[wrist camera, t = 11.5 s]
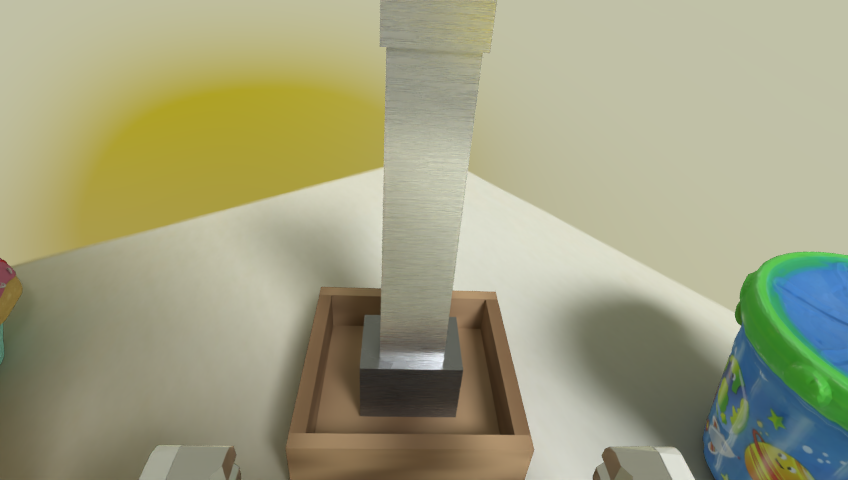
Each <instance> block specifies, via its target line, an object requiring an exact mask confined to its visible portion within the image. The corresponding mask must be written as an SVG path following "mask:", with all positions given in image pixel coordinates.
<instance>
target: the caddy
mask: <svg viewBox="0 0 848 480" xmlns="http://www.w3.org/2000/svg"><path fill="white" fill-rule="evenodd" d="M365 315H381V289H376V288H341V287H321V290H320V295H319V299H318V304H317V308H316V313H315V317H314V322H313V326H312V331H311V335H310V340H309V344H308V349H307V353H306V358H305V362H304V367H303V371H302V376H301V380H300V384H299V389H298V393H297V398H296V402H295V407H294V411H293V416H292V420H291V425H290V429H289V434H288V438H287V443H286V447H285V449H286V456H287V462H288V468H289V475H290V480H525V477H526V474H527V470H528V467H529V464H530V461H531V458H532V455H533V452H534V447H533V443H532V439H531V435H530V431H529V427H528V423H527V418H526V414H525V410H524V406H523V402H522V398H521V394H520V390H519V386H518V382H517V378H516V374H515V370H514V365H513V361H512V357H511V353H510V349H509V345H508V341H507V337H506V333H505V329H504V325H503V321H502V316H501V312H500V308H499V304H498V300H497V296H496V292H481V291H452V298H451V306H450V314H449V317H456V319H457V326H458V334H459V341H460V349H461V356H462V364H463V376H462V382H461V388H460V394H459V400H458V406H457V412H456V417H364V416H360V358H361V348H362V338H363V327H364V317H365Z"/></svg>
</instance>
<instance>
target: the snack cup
mask: <svg viewBox="0 0 848 480" xmlns="http://www.w3.org/2000/svg"><path fill="white" fill-rule="evenodd" d="M735 318H736V321H737V323H738V324H740V325H741V328H740V331H739V332H738V334H737V336H736V338H735V340H734V344H733V347H732V351H731V354H730V356H729V358H728V361H727V364H726V367H725V370H724V373H723V376H722V378H721V381H720V384H719V386H718V389H717V392H716V395H715V398H714V401H713V405H712V407H711V410H710V413H709V415H708V418H707V422H706V425H705V429H704V434H703V441H704V451H703V452H704V455H705V460H706V462H707V464H708V466H709V468H710V470H711V472H712V474H713V476H714V478H715V479H716V480H848V255H841V254H834V253H824V252H795V253H788V254H784V255H780V256H776V257H774V258H772V259H770V260H768V261H766V262H765V263H763V265H762V266H761V267H760V268H759V269H758V270H757V271H755V272H754V273H751V274H748V276H747V278H746V280H745V281H744V283H743V286H742V288H741V292H740V302H739V303H738V305H737V307H736V311H735Z"/></svg>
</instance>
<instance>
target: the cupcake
mask: <svg viewBox="0 0 848 480" xmlns="http://www.w3.org/2000/svg"><path fill="white" fill-rule="evenodd" d="M21 294H22V284H21V282H20V281H19V279H18V278H17V276H16V273H15V271H14V270H13V269H12V268H11V267H10V266H9V265H8V264H7V262H6V261H4V260H2V259H1V258H0V364H1V363H2V360H3V357H4V344H3V322H4V321H5V320H6V319H7V317H8V316H9V314H10V312H11V311H12V309H13V307H14V306H15V304H16V302H17V301H18V299H19V297H20V296H21Z"/></svg>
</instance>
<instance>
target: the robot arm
mask: <svg viewBox="0 0 848 480" xmlns="http://www.w3.org/2000/svg"><path fill="white" fill-rule="evenodd" d="M235 457H236V453H235V449H234V446H186V445H157V446H156V448H155V449H154V450H153V451H152V453H151V454H150V456H149V458H148V460H147V462H146V464H145V466H144V468H143V471H142V473H141V475H140V477H139V479H138V480H241V473H240V468H239V467H238V466H237V465H236V464H234V461H235ZM602 458H603V461H604V463H602V464H601V465H599V466H598V467H596V469H595V472H594V475H593V480H695V479H694V477H693V475H692V473H691V471H690V469H689V467H688V466H687V464H686V462H685V460H684V458H683V456H682V454H681V453H680V452H679V451H678V450H677V449H676V448H674V447H650V446H632V447H608V448H606V449H605V450H604V452H603V454H602Z"/></svg>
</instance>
